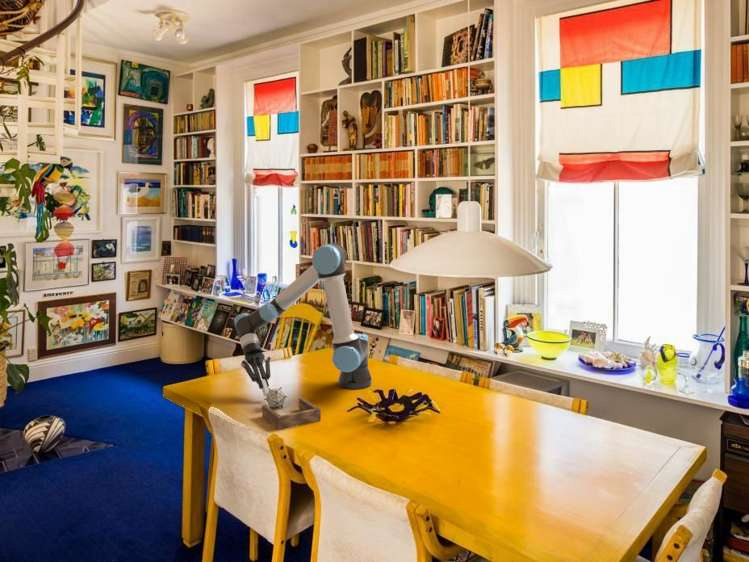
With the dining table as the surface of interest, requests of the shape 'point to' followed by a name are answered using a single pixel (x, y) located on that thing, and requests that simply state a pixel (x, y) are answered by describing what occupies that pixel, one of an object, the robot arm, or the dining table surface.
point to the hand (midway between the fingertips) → (266, 394)
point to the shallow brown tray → (293, 415)
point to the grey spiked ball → (275, 398)
